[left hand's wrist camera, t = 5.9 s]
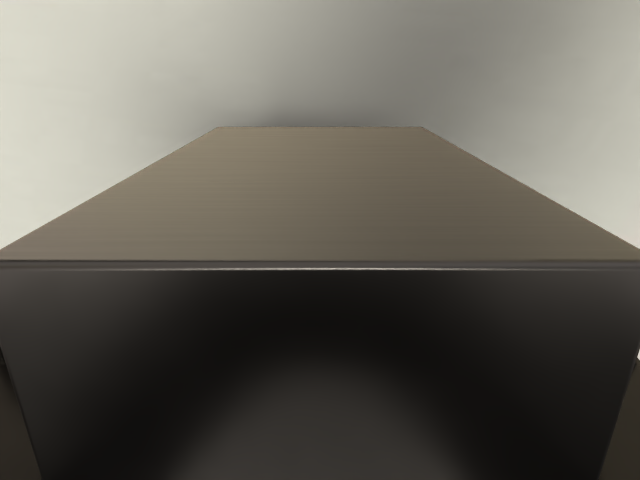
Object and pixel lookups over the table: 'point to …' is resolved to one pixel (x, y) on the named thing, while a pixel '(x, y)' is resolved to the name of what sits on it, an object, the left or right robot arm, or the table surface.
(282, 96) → the table surface
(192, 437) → the box
